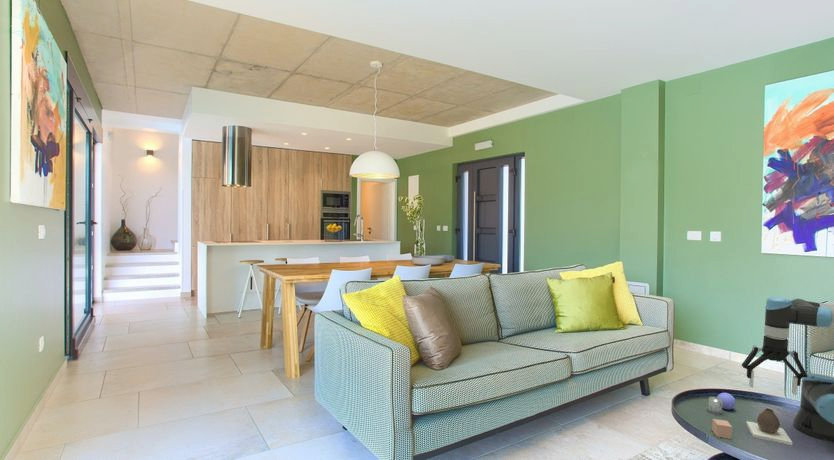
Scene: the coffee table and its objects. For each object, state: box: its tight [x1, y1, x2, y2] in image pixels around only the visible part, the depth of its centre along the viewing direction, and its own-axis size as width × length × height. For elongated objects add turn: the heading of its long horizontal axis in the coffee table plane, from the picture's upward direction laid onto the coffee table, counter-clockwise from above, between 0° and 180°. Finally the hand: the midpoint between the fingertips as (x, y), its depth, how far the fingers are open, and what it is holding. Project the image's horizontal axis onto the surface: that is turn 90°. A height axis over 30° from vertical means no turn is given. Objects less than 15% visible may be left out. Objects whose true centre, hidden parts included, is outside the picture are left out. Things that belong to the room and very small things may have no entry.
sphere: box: [716, 392, 737, 410], centre depth 197 cm, size 7×7×7 cm
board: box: [745, 420, 793, 446], centre depth 175 cm, size 12×12×1 cm
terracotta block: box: [711, 418, 733, 440], centre depth 174 cm, size 5×5×5 cm
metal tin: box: [707, 396, 723, 416], centre depth 193 cm, size 5×5×6 cm
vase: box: [756, 408, 780, 434], centre depth 175 cm, size 7×7×9 cm
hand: (772, 389), depth 174 cm, fingers open, 13 cm apart
